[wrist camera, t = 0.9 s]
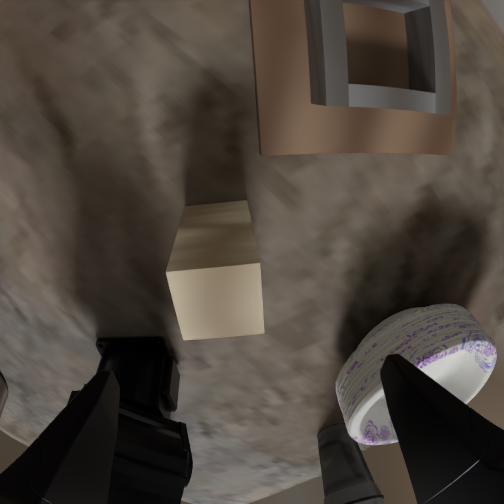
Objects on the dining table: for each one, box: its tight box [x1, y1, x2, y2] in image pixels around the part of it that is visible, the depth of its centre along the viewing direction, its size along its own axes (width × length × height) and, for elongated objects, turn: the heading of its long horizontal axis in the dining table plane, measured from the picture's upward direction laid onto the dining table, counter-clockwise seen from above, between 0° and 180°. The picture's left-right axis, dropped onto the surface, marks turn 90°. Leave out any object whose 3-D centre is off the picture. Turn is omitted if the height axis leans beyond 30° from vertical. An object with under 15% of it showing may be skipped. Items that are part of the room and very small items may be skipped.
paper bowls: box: [336, 304, 497, 445], centre depth 25 cm, size 15×15×8 cm
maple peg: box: [166, 200, 264, 340], centre depth 18 cm, size 4×4×8 cm
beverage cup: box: [317, 424, 384, 504], centre depth 27 cm, size 7×7×20 cm
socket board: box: [249, 0, 456, 156], centre depth 14 cm, size 14×14×4 cm
